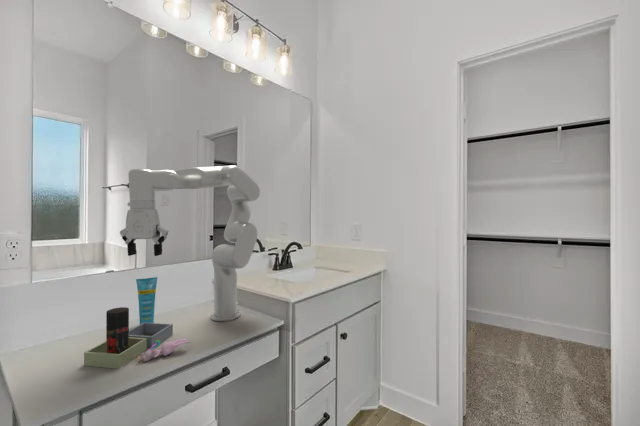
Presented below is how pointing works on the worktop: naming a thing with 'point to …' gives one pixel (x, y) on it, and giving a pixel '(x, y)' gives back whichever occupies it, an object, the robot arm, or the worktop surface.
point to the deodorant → (117, 330)
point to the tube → (146, 299)
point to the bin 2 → (152, 332)
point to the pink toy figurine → (165, 349)
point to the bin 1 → (108, 360)
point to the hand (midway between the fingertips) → (145, 255)
